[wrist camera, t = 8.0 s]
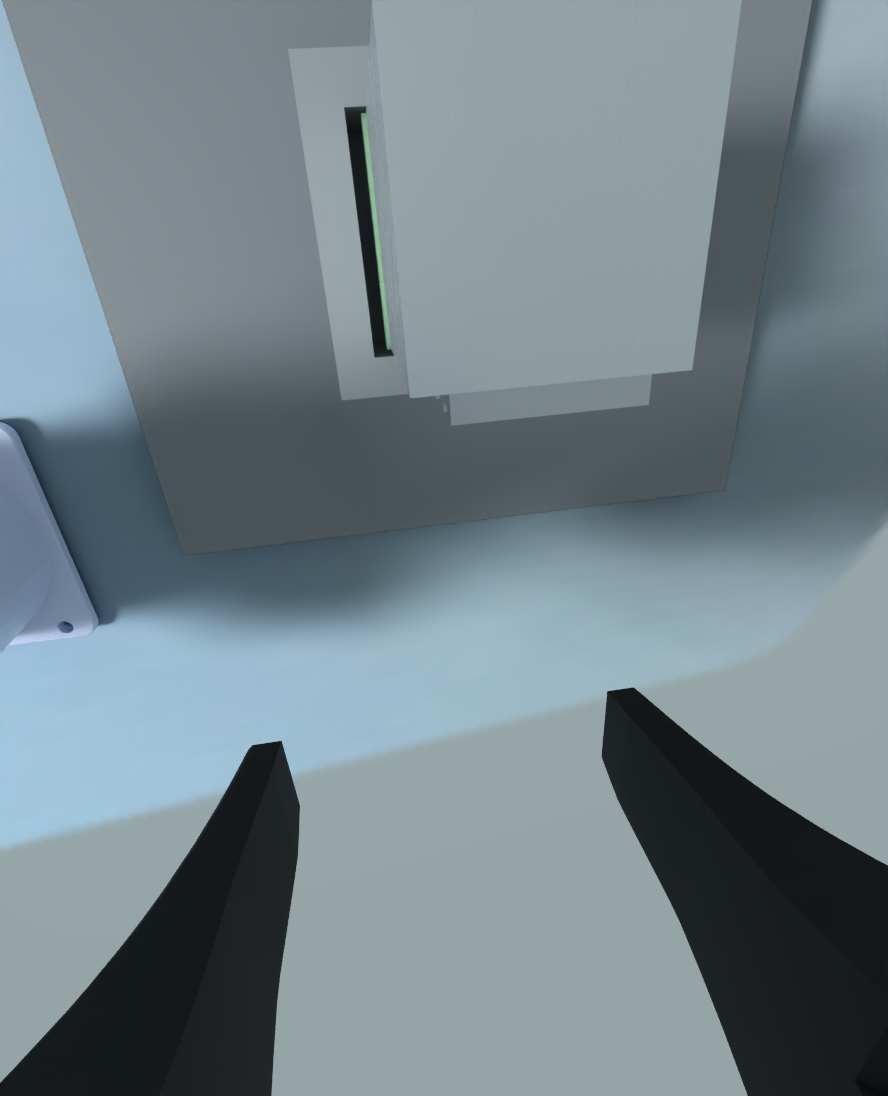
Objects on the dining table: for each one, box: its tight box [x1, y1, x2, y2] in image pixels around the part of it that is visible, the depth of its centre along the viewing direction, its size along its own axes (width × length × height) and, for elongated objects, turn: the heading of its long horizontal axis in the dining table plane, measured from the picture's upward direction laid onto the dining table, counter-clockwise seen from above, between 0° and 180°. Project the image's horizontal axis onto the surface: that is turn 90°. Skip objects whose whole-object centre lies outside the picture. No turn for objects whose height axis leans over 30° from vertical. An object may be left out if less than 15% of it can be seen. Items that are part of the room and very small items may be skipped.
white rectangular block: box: [361, 0, 742, 426], centre depth 11 cm, size 5×5×7 cm
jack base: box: [2, 0, 812, 556], centre depth 15 cm, size 20×18×4 cm
